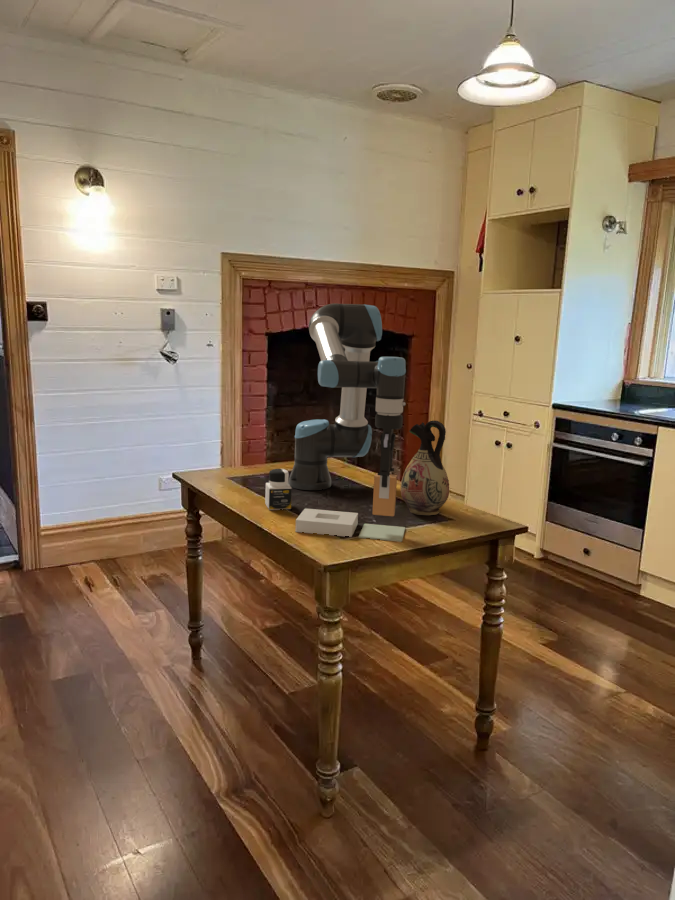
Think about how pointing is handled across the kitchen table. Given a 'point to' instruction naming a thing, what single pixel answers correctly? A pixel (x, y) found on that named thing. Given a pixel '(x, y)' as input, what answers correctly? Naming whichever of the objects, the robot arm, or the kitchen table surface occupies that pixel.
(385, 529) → the mat
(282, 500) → the medicine bottle
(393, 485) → the plug
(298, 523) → the socket housing
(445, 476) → the ceramic jug
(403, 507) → the kitchen table surface
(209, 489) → the kitchen table surface
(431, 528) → the kitchen table surface
